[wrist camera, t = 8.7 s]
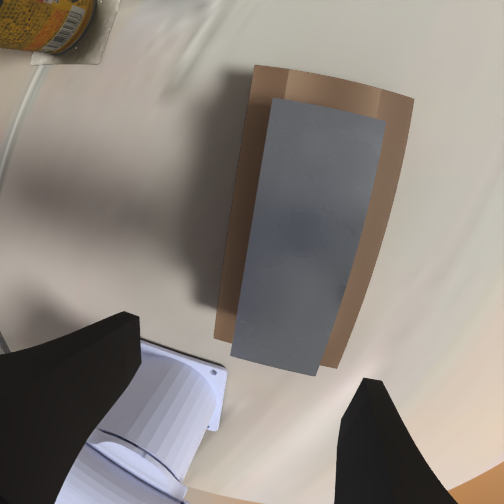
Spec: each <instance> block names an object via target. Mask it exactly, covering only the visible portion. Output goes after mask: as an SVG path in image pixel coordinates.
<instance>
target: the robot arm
mask: <svg viewBox="0 0 504 504" xmlns="http://www.w3.org/2000/svg"><path fill="white" fill-rule="evenodd" d="M213 370H215V371H216V372H215V371H213ZM227 374H228V372H227V370H226V369H225V368H224V367H221V366H218V365H215V364H211V363H208V362H205V361H202V360H198V359H195V358H192V357H189V356H186V355H183V354H180V353H177V352H174V351H171V350H168V349H165V348H162V347H160V346H157V345H154V344H151V343H148V342H146V341H143V340H140V321H139V317H138V316H136V315H133V314H130V313H127V312H125V311H123V312H120V313H118V314H115V315H113V316H110V317H108V318H106V319H103V320H101V321H99V322H96V323H94V324H92V325H89V326H87V327H85V328H82V329H80V330H77V331H75V332H73V333H70V334H68V335H65V336H63V337H60V338H57V339H54V340H52V341H49V342H46V343H44V344H41V345H38V346H34V347H31V348H28V349H24V350H20V351H16V352H12V353H7V354H1V355H0V504H190V503H189V502H188V501H186V500H184V499H183V498H184V496H185V494H186V492H187V489H188V487H186V486H185V485H183V484H181V483H182V481H183V479H184V477H185V475H186V473H187V471H188V468H189V466H190V464H191V462H192V460H193V457H194V455H195V453H196V451H197V449H198V446H199V444H200V442H201V440H202V438H203V435H204V433H205V431H206V429H208V430H211V431H217V430H218V427H219V422H220V416H221V410H222V404H223V398H224V392H225V386H226V380H227ZM334 504H458V503H457V502H456V501H455V500H454V499H453V497H452V496H451V495H450V494H449V493H448V491H447V490H446V489H445V488H444V486H443V485H442V484H441V482H440V481H439V480H438V478H437V477H436V475H435V474H434V473H433V471H432V470H431V468H430V467H429V466H428V464H427V462H426V461H425V459H424V458H423V456H422V454H421V453H420V451H419V450H418V448H417V446H416V445H415V443H414V441H413V439H412V438H411V436H410V434H409V432H408V430H407V428H406V427H405V425H404V423H403V421H402V419H401V417H400V415H399V413H398V411H397V409H396V407H395V405H394V403H393V402H392V400H391V398H390V396H389V394H388V392H387V390H386V388H385V386H384V384H383V382H382V381H380V380H374V379H368V378H363V380H362V382H361V384H360V386H359V387H358V389H357V391H356V393H355V395H354V397H353V399H352V401H351V403H350V404H349V406H348V408H347V410H346V412H345V413H344V415H343V417H342V419H341V424H340V431H339V437H338V444H337V461H336V483H335V501H334Z"/></svg>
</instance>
